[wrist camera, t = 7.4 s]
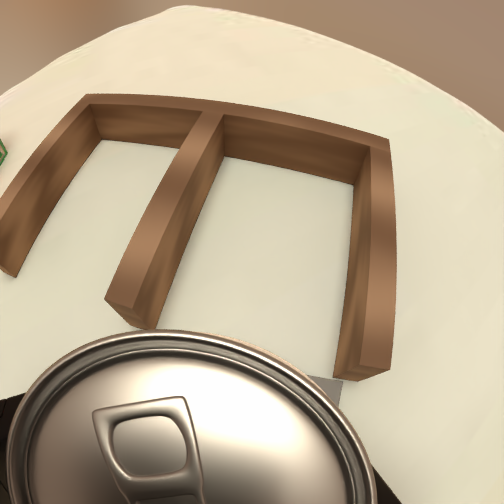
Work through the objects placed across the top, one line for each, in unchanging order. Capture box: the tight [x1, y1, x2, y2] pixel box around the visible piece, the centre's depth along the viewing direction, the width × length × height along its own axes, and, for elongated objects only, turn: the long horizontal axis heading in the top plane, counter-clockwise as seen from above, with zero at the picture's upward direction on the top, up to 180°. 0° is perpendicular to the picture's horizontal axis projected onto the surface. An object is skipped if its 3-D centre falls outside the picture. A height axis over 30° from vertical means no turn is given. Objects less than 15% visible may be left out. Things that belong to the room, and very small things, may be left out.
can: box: [5, 329, 377, 504], centre depth 8 cm, size 6×6×12 cm
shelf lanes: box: [0, 94, 397, 381], centre depth 18 cm, size 16×24×4 cm, turn 76°
